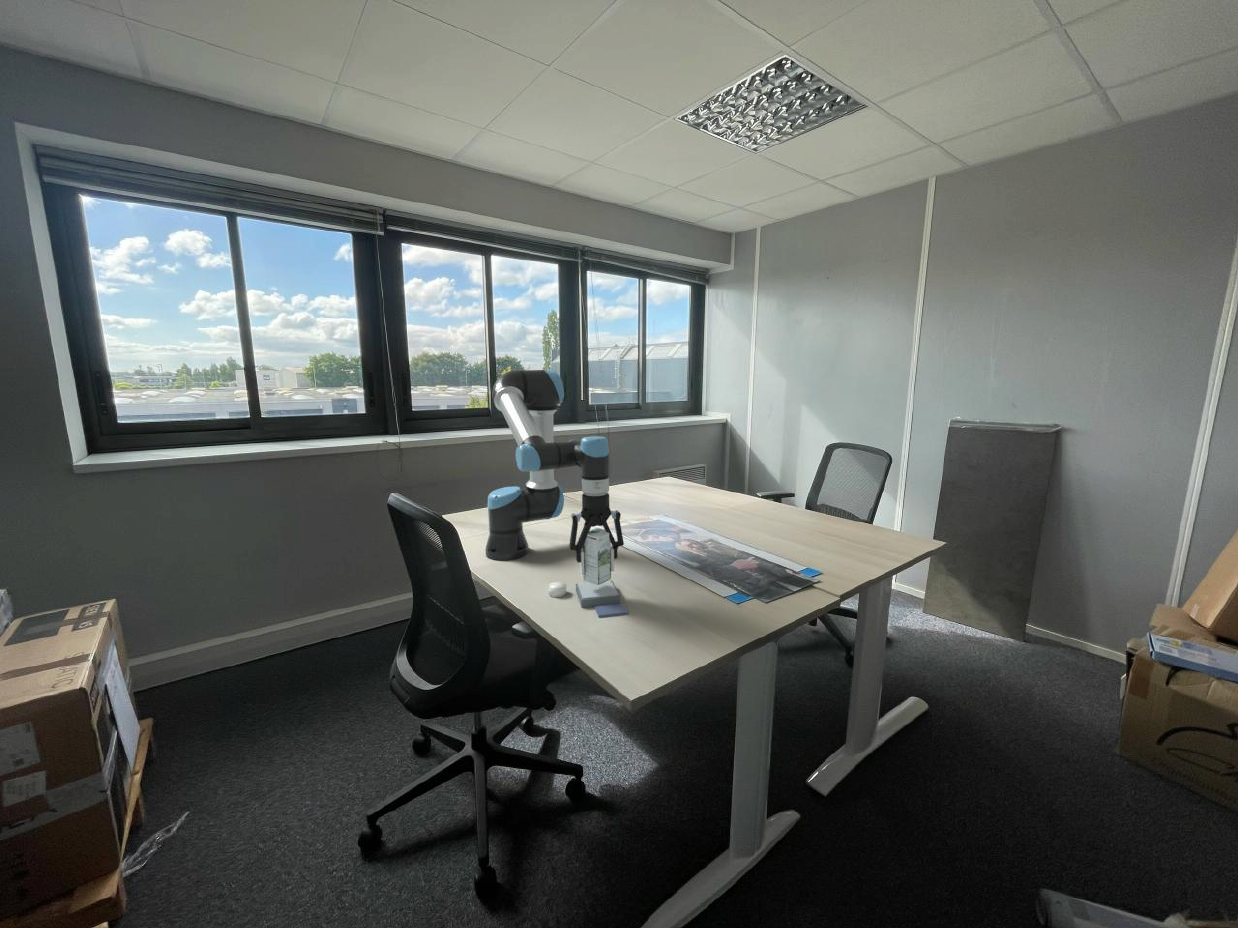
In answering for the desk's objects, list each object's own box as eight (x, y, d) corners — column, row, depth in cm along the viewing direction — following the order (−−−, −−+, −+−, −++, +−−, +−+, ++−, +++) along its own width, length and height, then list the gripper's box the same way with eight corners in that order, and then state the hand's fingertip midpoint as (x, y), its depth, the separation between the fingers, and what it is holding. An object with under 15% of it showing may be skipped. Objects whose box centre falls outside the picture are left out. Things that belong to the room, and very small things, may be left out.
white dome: (545, 593, 141) (545, 585, 140) (557, 588, 145) (557, 580, 144) (557, 598, 138) (557, 590, 137) (569, 593, 142) (569, 585, 141)
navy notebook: (595, 610, 132) (595, 606, 132) (623, 607, 134) (623, 603, 134) (598, 619, 127) (598, 615, 127) (628, 615, 129) (628, 611, 129)
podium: (575, 590, 143) (575, 582, 143) (612, 586, 146) (612, 578, 145) (581, 607, 133) (581, 599, 132) (620, 603, 135) (620, 594, 135)
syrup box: (596, 574, 142) (595, 526, 139) (612, 579, 138) (610, 530, 136) (583, 580, 138) (581, 531, 135) (598, 586, 134) (597, 536, 131)
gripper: (559, 498, 128) (562, 579, 132) (635, 493, 132) (635, 572, 136) (556, 492, 135) (559, 569, 139) (628, 487, 139) (629, 562, 143)
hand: (597, 570), depth 138 cm, fingers closed on syrup box, 8 cm apart
